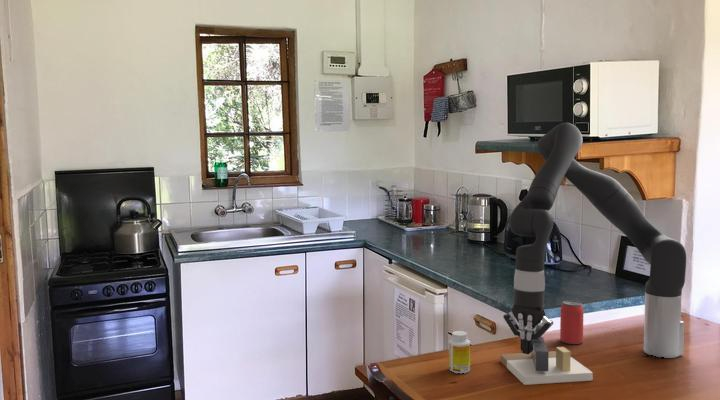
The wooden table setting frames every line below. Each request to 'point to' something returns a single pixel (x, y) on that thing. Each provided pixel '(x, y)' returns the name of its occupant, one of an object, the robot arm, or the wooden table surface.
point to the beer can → (571, 322)
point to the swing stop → (540, 355)
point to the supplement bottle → (459, 352)
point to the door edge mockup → (558, 367)
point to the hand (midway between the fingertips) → (526, 353)
